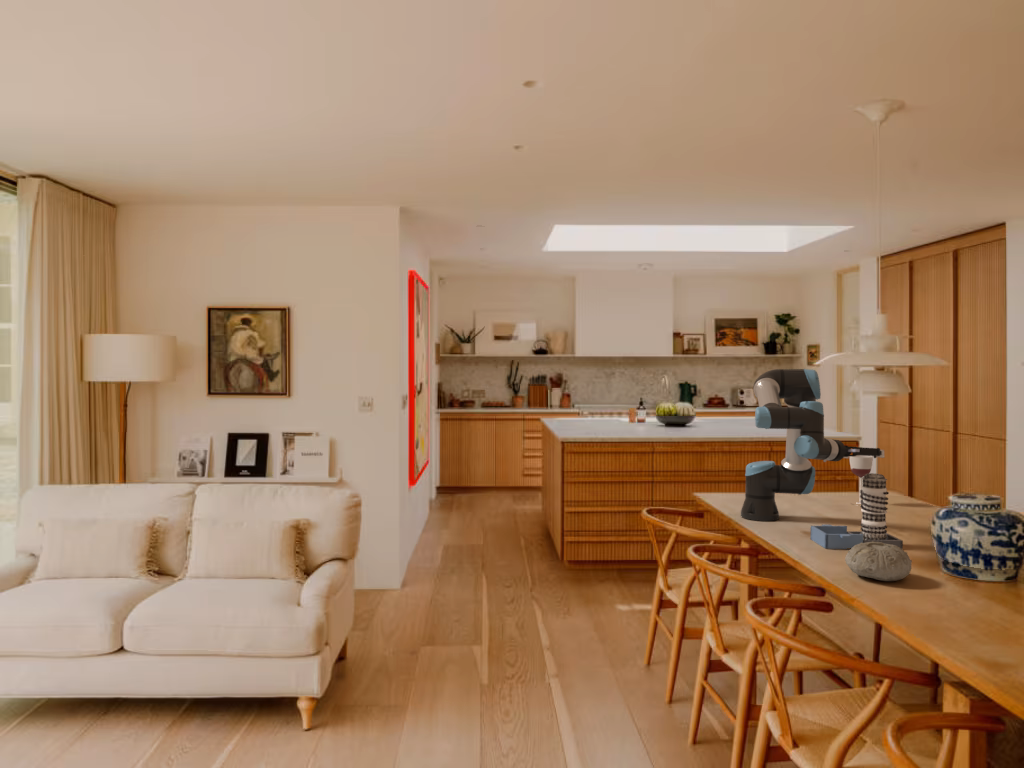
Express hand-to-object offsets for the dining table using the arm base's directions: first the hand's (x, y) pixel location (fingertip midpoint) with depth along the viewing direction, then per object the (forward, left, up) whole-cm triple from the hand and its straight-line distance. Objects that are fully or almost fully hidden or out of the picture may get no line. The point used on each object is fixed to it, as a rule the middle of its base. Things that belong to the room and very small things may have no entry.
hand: (865, 454), depth 261 cm
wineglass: (+30, +69, -32) cm, 81 cm away
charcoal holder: (+1, -5, -31) cm, 32 cm away
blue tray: (-12, -5, -31) cm, 34 cm away
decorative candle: (+1, -5, -32) cm, 32 cm away
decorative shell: (-16, -45, -32) cm, 58 cm away
